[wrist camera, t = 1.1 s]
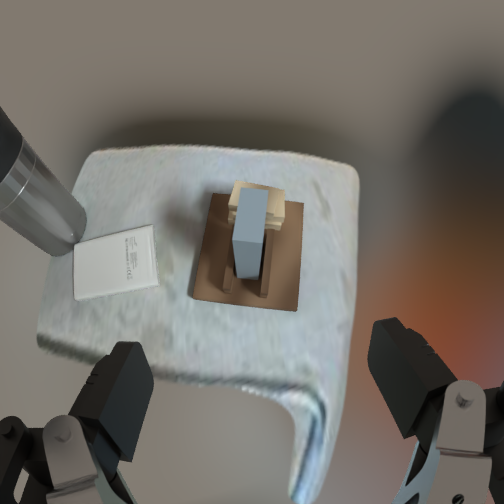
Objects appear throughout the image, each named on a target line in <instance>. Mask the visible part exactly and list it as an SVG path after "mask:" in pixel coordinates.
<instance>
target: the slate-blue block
mask: <svg viewBox="0 0 504 504" xmlns="http://www.w3.org/2000/svg"><path fill="white" fill-rule="evenodd" d="M268 191H269V190H262V189H253V188H243V187H241V189H240V195H239V201H238V207H237V214H236V220H235V226H234V232H233V238H232V242H233V249H234V257H235V264H236V272H237V278H243V279H251V280H258V277H259V269H260V261H261V253H262V245H263V236H264V227H265V218H266V209H267V200H268Z"/></svg>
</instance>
